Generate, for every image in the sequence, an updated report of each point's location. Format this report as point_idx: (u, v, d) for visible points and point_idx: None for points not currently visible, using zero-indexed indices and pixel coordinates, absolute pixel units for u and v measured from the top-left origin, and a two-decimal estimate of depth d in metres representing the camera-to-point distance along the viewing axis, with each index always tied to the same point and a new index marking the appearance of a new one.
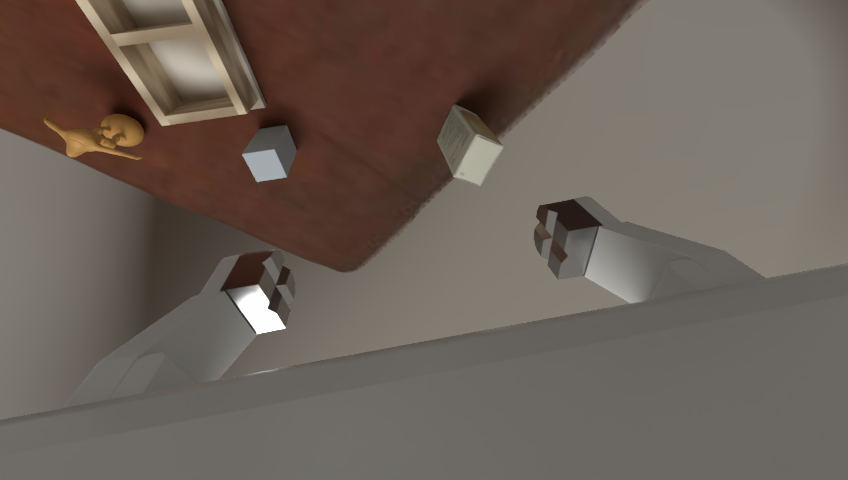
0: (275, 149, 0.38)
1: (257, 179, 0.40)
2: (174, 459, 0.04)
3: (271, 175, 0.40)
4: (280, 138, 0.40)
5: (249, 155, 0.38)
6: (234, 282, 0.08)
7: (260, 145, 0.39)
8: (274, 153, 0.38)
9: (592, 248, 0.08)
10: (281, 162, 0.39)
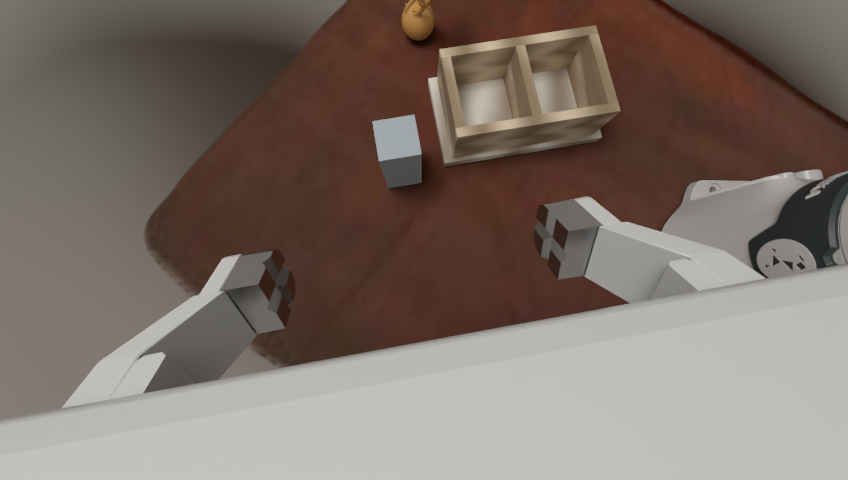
0: (419, 156, 0.28)
1: (376, 123, 0.28)
2: (174, 459, 0.04)
3: (382, 141, 0.28)
4: (420, 168, 0.31)
5: (412, 122, 0.28)
6: (234, 282, 0.08)
7: None
8: (415, 153, 0.28)
9: (592, 248, 0.08)
10: (400, 159, 0.28)
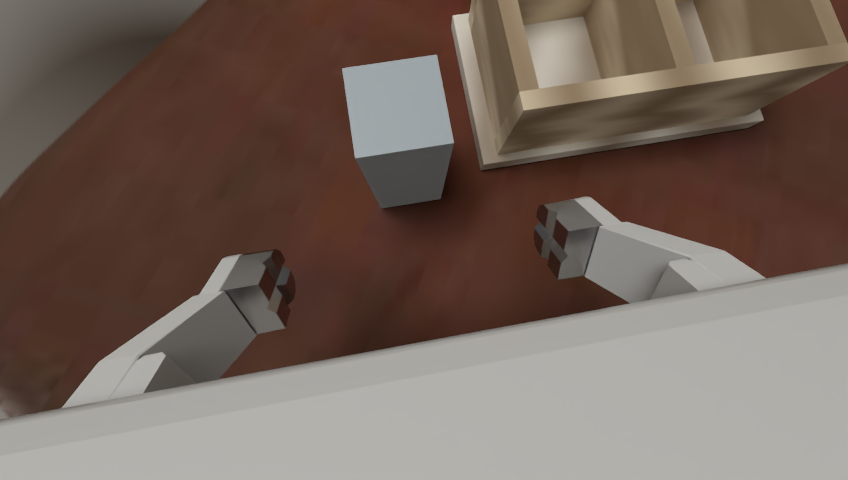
0: (448, 147, 0.12)
1: (350, 72, 0.13)
2: (174, 459, 0.04)
3: (363, 114, 0.12)
4: (444, 174, 0.16)
5: (433, 73, 0.13)
6: (234, 282, 0.08)
7: None
8: (439, 140, 0.12)
9: (593, 248, 0.08)
10: (404, 154, 0.12)
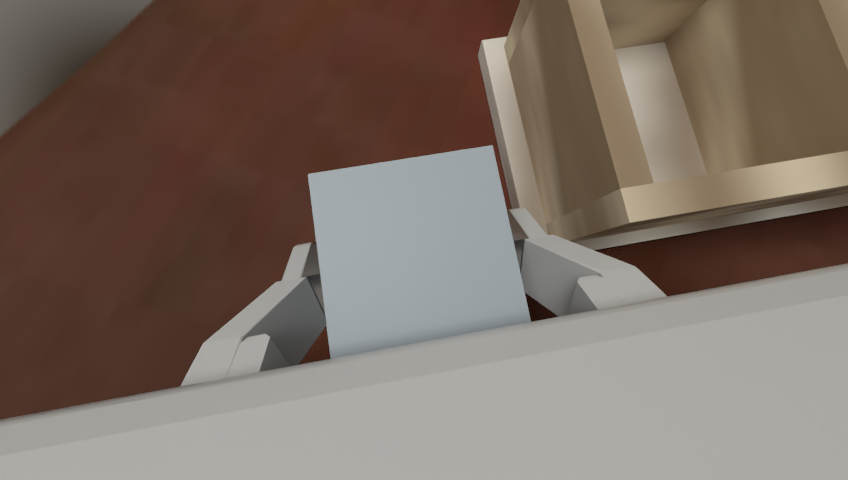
0: None
1: (324, 181, 0.06)
2: (174, 459, 0.04)
3: (349, 271, 0.06)
4: None
5: (487, 182, 0.06)
6: (313, 268, 0.08)
7: None
8: None
9: (522, 260, 0.08)
10: None
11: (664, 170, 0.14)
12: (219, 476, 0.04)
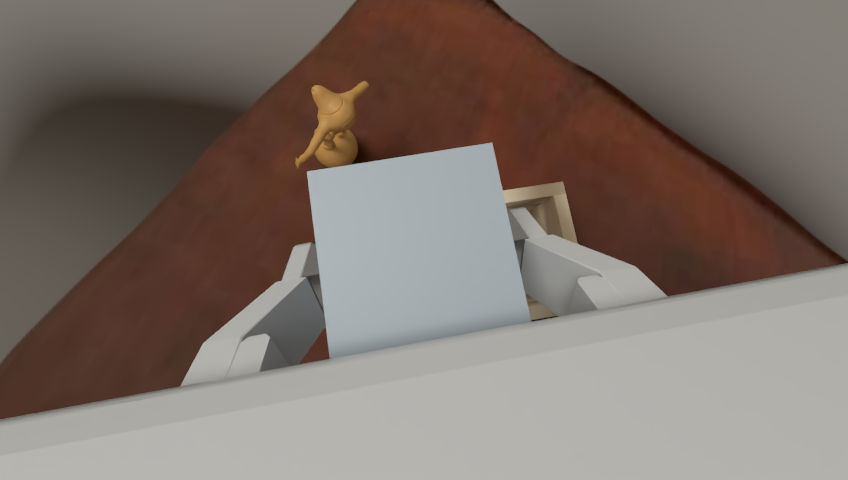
0: None
1: (323, 179, 0.06)
2: (174, 459, 0.04)
3: (348, 269, 0.06)
4: None
5: (486, 179, 0.06)
6: (313, 268, 0.08)
7: None
8: (504, 324, 0.06)
9: (522, 260, 0.08)
10: None
11: None
12: (219, 476, 0.04)
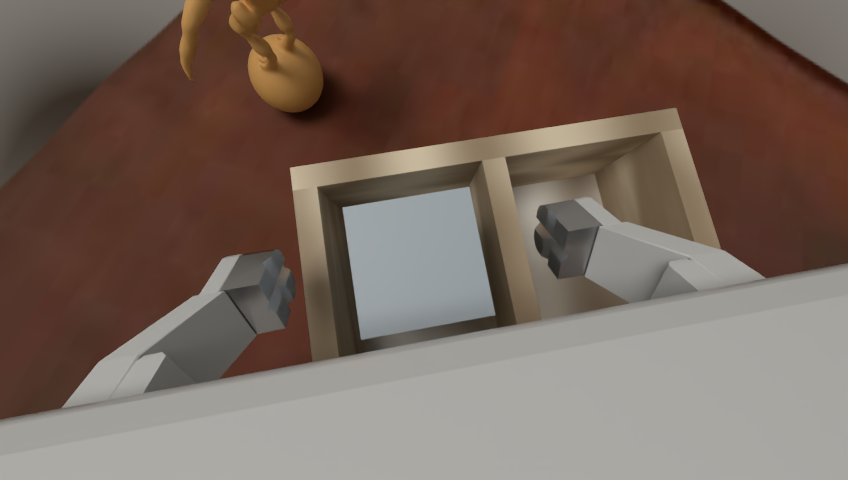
0: None
1: (353, 212, 0.09)
2: (174, 459, 0.04)
3: (371, 274, 0.09)
4: None
5: (465, 212, 0.09)
6: (234, 282, 0.08)
7: None
8: (476, 311, 0.09)
9: (593, 248, 0.08)
10: (427, 325, 0.09)
11: None
12: (219, 476, 0.04)
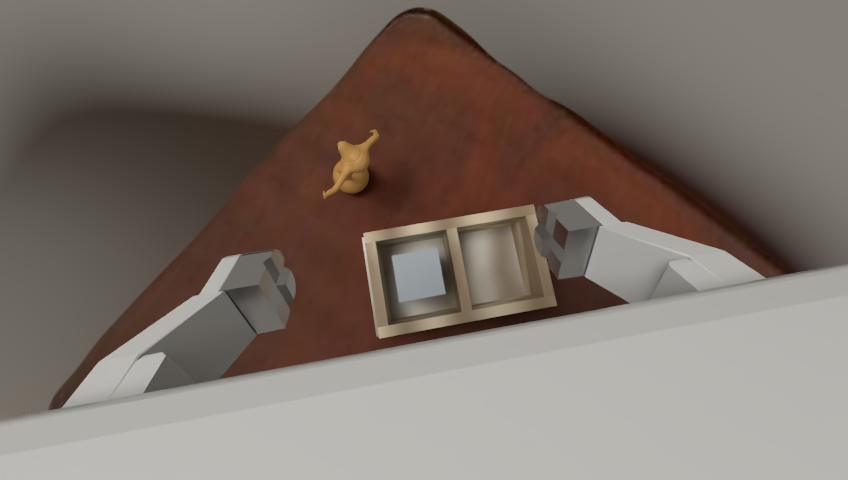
0: None
1: (395, 257, 0.26)
2: (174, 459, 0.04)
3: (402, 279, 0.26)
4: None
5: (435, 257, 0.26)
6: (234, 282, 0.08)
7: None
8: (439, 292, 0.26)
9: (592, 248, 0.08)
10: None
11: (435, 296, 0.33)
12: (219, 476, 0.04)
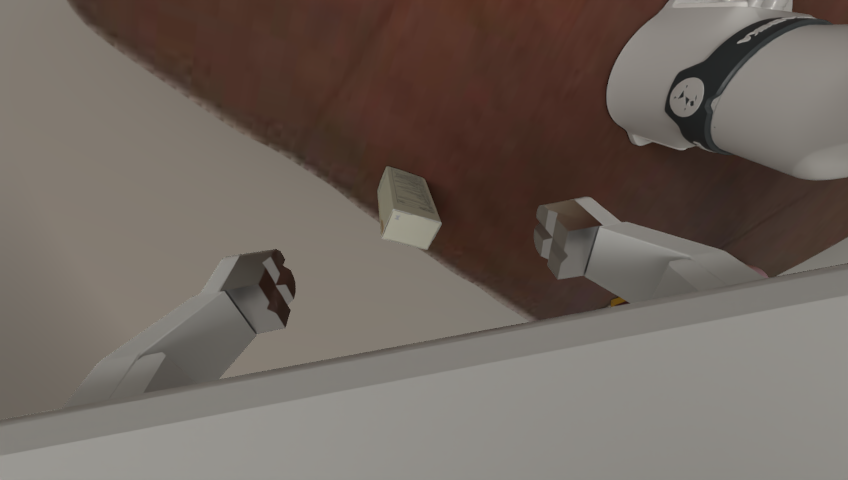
0: None
1: None
2: (174, 459, 0.04)
3: None
4: None
5: None
6: (234, 282, 0.08)
7: None
8: None
9: (592, 248, 0.08)
10: None
11: None
12: (219, 476, 0.04)
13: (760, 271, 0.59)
